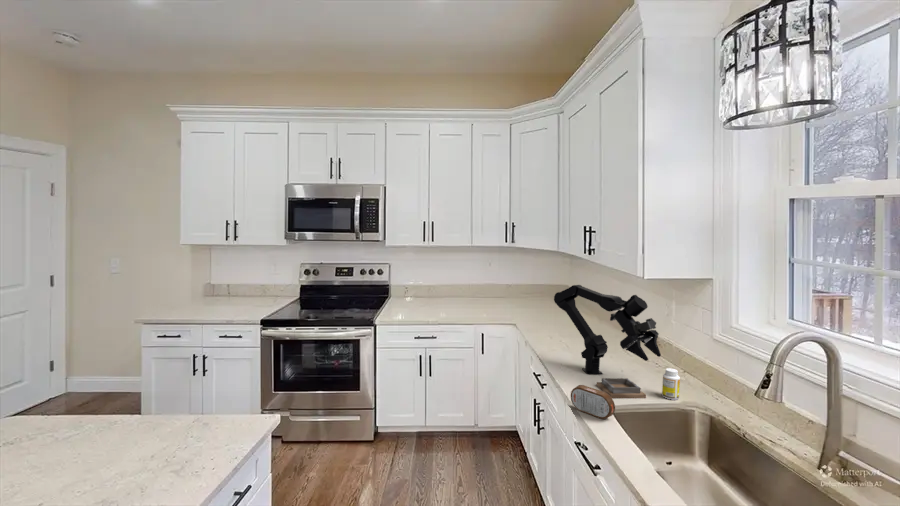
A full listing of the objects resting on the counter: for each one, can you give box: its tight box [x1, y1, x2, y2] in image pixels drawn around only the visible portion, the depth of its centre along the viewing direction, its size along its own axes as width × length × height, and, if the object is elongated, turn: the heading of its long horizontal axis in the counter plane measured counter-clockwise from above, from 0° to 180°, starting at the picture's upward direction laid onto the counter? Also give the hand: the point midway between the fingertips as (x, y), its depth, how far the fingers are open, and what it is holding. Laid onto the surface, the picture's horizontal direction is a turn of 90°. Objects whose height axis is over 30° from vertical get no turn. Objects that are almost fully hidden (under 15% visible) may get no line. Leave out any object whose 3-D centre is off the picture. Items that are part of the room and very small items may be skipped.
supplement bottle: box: [661, 367, 681, 401], centre depth 161 cm, size 6×6×10 cm
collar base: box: [595, 377, 647, 399], centre depth 166 cm, size 13×13×3 cm
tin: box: [570, 384, 616, 420], centre depth 145 cm, size 15×3×8 cm, turn 42°
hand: (653, 358), depth 166 cm, fingers open, 9 cm apart
